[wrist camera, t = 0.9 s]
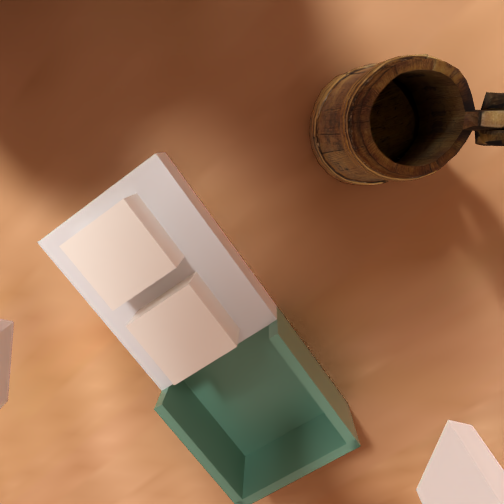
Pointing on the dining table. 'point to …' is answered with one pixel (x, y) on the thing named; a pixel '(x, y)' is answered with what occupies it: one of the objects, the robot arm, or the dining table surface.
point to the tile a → (123, 251)
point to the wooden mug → (399, 120)
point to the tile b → (184, 329)
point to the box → (260, 414)
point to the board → (196, 260)
